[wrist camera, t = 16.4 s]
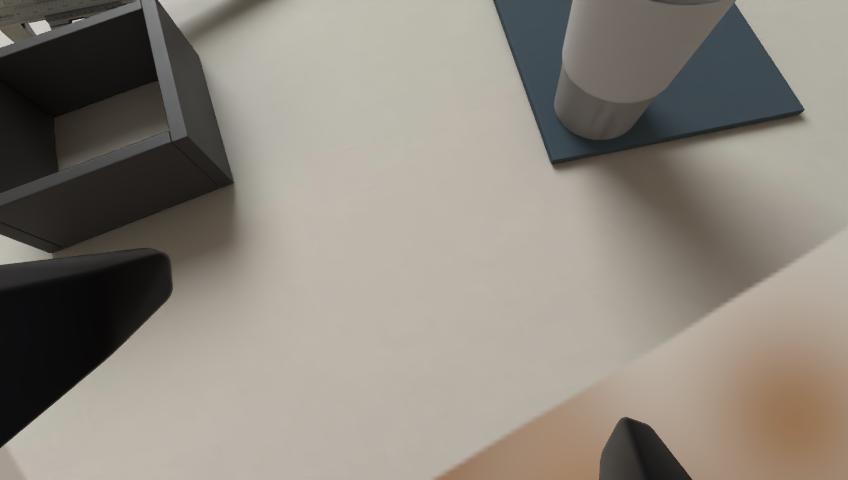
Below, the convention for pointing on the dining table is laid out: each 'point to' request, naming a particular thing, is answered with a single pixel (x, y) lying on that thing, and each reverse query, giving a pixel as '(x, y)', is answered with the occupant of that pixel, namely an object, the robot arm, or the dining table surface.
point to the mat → (671, 109)
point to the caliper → (48, 14)
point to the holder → (116, 171)
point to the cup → (626, 58)
